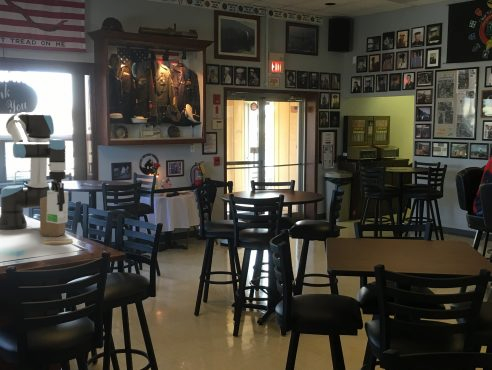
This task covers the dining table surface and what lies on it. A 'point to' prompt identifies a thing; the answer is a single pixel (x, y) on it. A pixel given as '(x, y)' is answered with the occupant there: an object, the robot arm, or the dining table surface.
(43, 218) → the wooden block
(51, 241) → the cork trivet
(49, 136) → the robot arm
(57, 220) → the skincare box
